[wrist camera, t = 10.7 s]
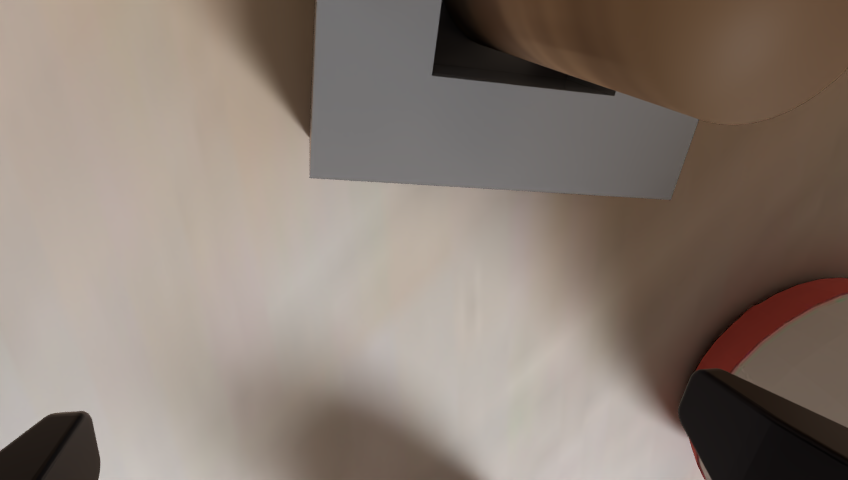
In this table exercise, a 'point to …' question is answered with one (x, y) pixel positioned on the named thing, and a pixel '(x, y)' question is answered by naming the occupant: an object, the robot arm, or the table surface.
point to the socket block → (473, 112)
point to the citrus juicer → (792, 348)
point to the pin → (676, 48)
